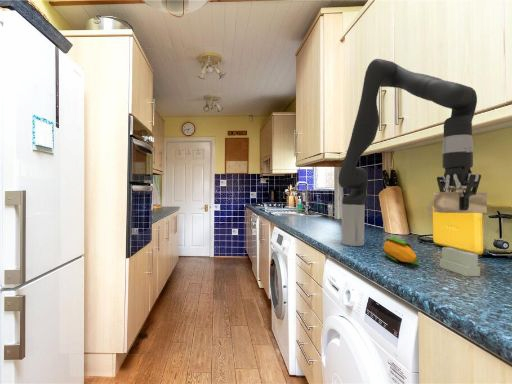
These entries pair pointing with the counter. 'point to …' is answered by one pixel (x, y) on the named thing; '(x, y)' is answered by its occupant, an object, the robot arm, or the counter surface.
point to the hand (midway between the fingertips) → (457, 209)
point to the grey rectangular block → (460, 262)
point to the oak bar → (450, 203)
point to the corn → (400, 251)
